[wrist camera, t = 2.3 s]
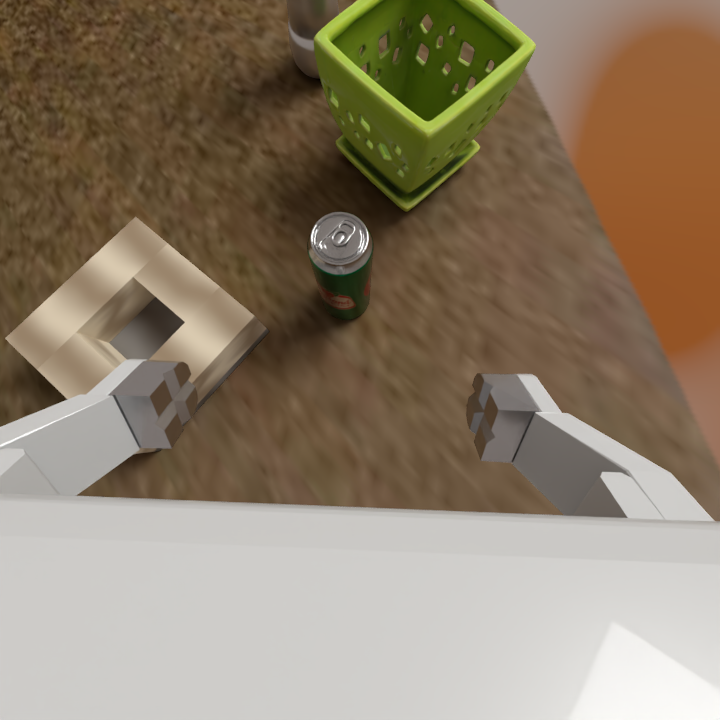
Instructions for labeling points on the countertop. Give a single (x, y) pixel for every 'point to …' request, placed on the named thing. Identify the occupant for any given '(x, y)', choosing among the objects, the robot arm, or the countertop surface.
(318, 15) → the plastic bottle
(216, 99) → the countertop surface
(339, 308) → the soda can
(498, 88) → the flower pot
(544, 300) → the countertop surface
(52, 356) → the can holder
